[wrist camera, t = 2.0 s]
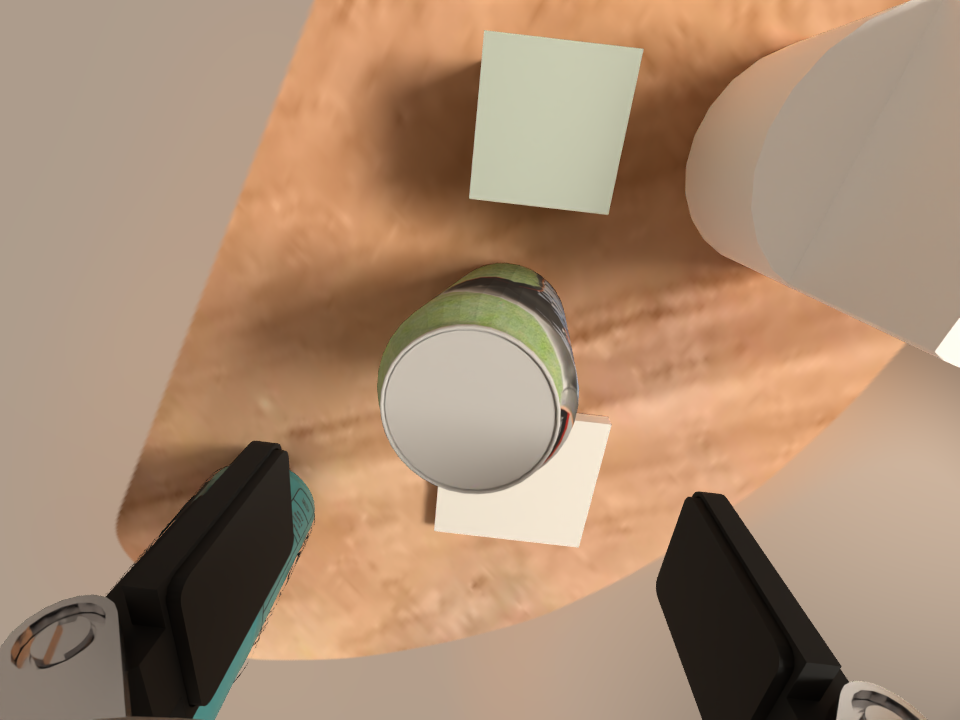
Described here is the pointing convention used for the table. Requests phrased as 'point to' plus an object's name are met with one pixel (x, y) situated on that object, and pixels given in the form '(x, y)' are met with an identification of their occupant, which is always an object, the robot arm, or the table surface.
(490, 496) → the coaster
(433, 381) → the beverage can
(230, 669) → the beverage bottle
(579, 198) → the sage block
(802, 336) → the table surface
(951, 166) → the cylinder with rectangular tab
